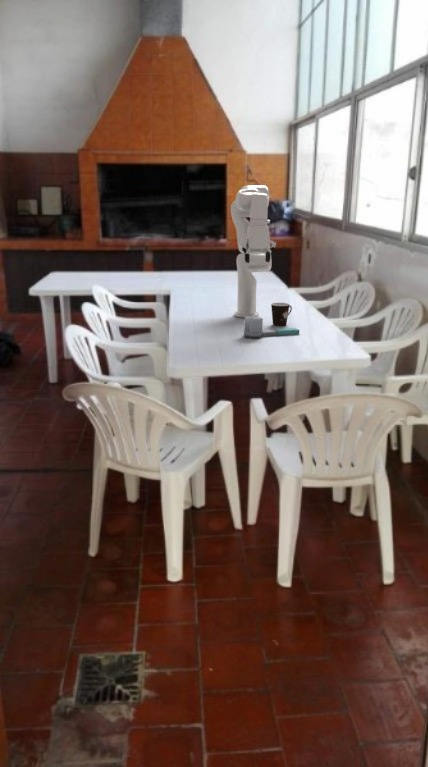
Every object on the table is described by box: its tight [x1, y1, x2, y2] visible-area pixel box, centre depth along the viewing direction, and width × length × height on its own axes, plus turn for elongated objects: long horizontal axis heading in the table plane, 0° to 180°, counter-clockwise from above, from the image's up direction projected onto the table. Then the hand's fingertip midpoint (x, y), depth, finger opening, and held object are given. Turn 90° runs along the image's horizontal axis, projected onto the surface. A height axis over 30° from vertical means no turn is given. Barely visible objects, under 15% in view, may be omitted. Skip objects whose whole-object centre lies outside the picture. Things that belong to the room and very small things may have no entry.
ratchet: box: [243, 327, 300, 340], centre depth 259 cm, size 8×26×6 cm, turn 108°
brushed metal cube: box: [244, 316, 264, 333], centre depth 256 cm, size 6×6×6 cm
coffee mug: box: [271, 302, 293, 328], centre depth 279 cm, size 12×9×10 cm
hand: (257, 262), depth 264 cm, fingers open, 9 cm apart
